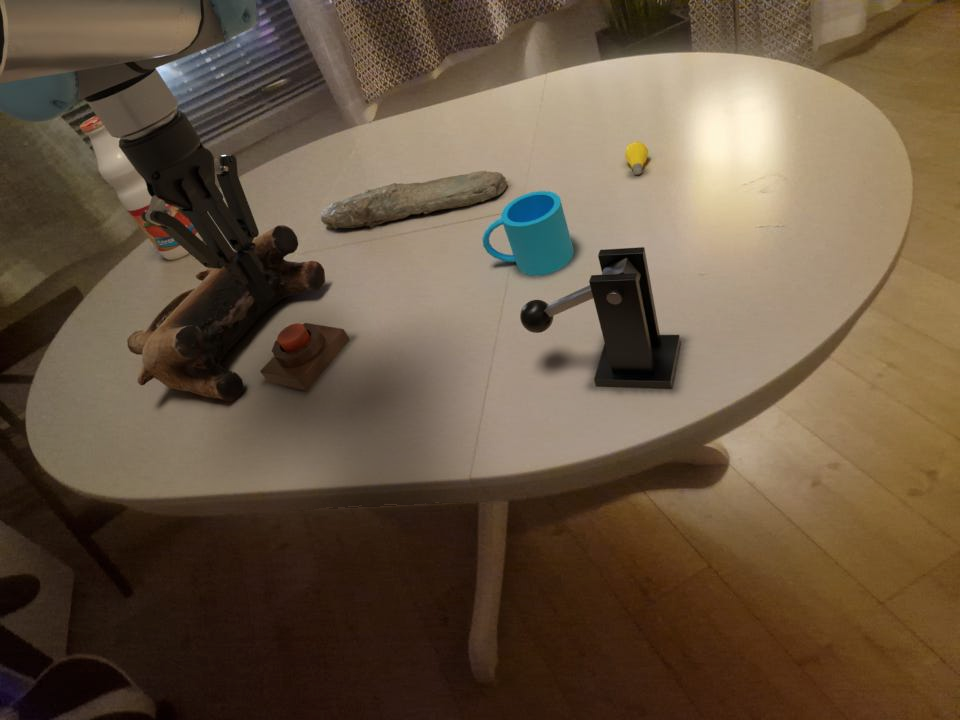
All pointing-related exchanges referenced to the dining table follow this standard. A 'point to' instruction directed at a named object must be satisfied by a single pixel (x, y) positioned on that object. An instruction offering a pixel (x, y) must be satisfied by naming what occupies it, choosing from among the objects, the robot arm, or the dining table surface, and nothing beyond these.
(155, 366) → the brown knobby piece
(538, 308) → the lever
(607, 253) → the bracket
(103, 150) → the fruit juice
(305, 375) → the button block
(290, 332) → the button
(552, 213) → the mug
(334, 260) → the dining table surface
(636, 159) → the light bulb
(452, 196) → the long grey stone
